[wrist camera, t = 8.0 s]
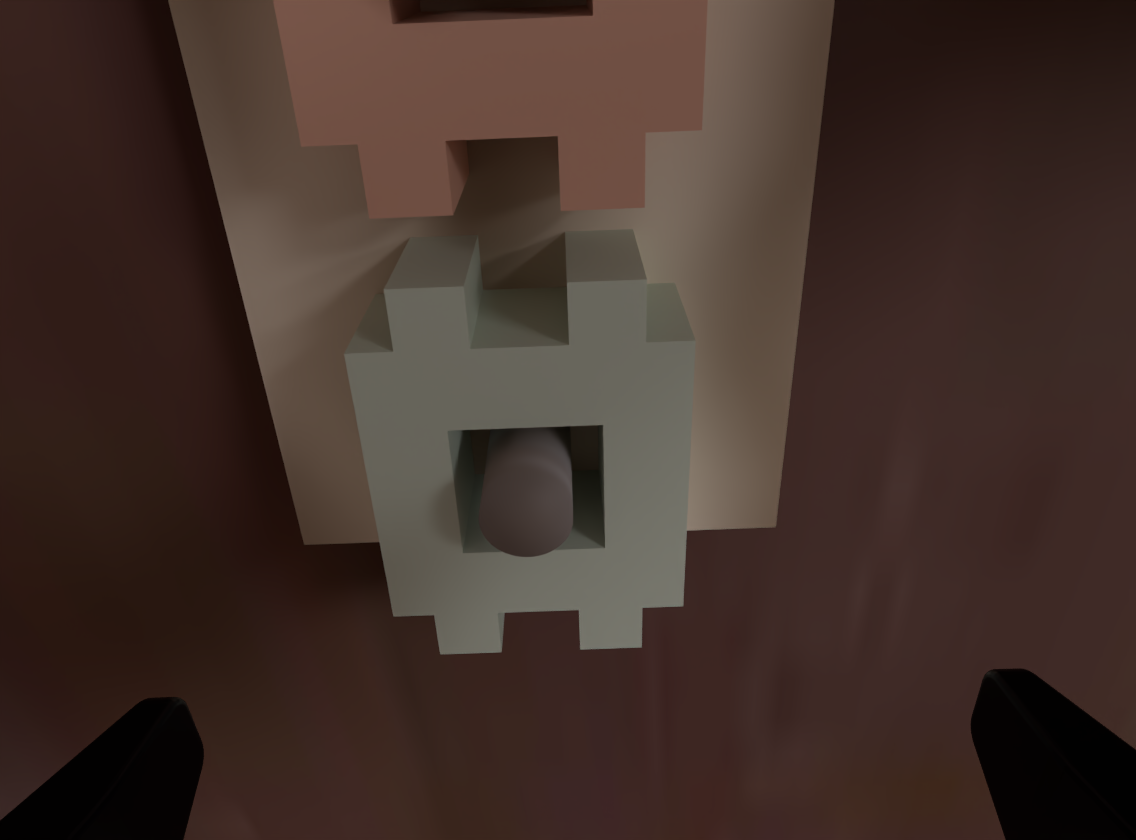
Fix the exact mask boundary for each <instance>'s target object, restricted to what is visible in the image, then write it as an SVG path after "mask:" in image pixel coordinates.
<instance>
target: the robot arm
mask: <svg viewBox="0 0 1136 840" xmlns="http://www.w3.org/2000/svg"><path fill="white" fill-rule="evenodd" d="M971 734H972V739H973V742H974V746H975V749H976V752H977V755H978V758H979V761H980V764H981V767H982V770H983V773H984V776H985V779H986V782H987V785H988V788H989V791H990V794H991V797H992V800H993V803H994V806H995V809H996V812H997V815H998V818H999V821H1000V824H1001V827H1002V830H1003V833H1004V836H1005V839H1006V840H1136V750H1135V749H1134V748H1133V747H1131V746H1130V745H1129V744H1127V743H1126V742H1125V741H1123V740H1122V739H1121V738H1119V737H1118V736H1117V735H1115V734H1114V733H1113V732H1111V731H1110V730H1109V729H1107V728H1106V727H1105V726H1103V725H1102V724H1101V723H1099V722H1098V721H1097V720H1095V719H1094V718H1093V717H1091V716H1090V715H1089V714H1087V713H1086V712H1085V711H1083V710H1082V709H1081V708H1079V707H1078V706H1077V705H1075V704H1074V703H1073V702H1071V701H1070V700H1069V699H1067V698H1066V697H1065V696H1063V695H1062V694H1061V693H1059V692H1058V691H1057V690H1055V689H1054V688H1053V687H1051V686H1050V685H1049V684H1047V683H1046V682H1045V681H1043V680H1042V679H1041V678H1039V677H1038V676H1037V675H1035V674H1034V673H1032V672H1030V671H1028V670H1025V669H993V670H990V671H988V672H987V673H986V674H985V676H984V678H983V680H982V684H981V687H980V690H979V694H978V697H977V700H976V704H975V707H974V710H973V714H972V718H971ZM203 759H204V749H203V744H202V740H201V738H200V736H199V733H198V731H197V728H196V726H195V723H194V721H193V718H192V716H191V713H190V711H189V708H188V706H187V704H186V702H185V701H184V700H182V699H181V698H178V697H160V698H148V699H145V700H143V701H141V702H139V703H138V704H136V705H135V706H134V707H133V708H132V709H130V710H129V711H128V712H127V713H126V714H125V715H123V716H122V717H121V718H120V719H119V720H118V721H116V722H115V723H114V724H113V725H112V726H111V727H109V728H108V729H107V730H106V731H105V732H103V733H102V734H101V735H100V736H99V737H98V738H96V739H95V740H94V741H93V742H92V743H91V744H89V745H88V746H87V747H86V748H85V749H84V750H82V751H81V752H80V753H79V754H78V755H77V756H75V757H74V758H73V759H72V760H71V761H69V762H68V763H67V764H66V765H65V766H64V767H62V768H61V769H60V770H59V771H58V772H57V773H55V774H54V775H53V776H52V777H51V778H50V779H48V780H47V781H46V782H45V783H44V784H42V785H41V786H40V787H39V788H38V789H37V790H35V791H34V792H33V793H32V794H31V795H30V796H28V797H27V798H26V799H25V800H24V801H23V802H21V803H20V804H19V805H18V806H17V807H16V808H14V809H13V810H12V811H11V812H10V813H8V814H7V815H6V816H5V817H4V818H3V819H1V820H0V840H183V839H184V835H185V832H186V828H187V824H188V820H189V816H190V812H191V808H192V805H193V801H194V797H195V793H196V789H197V785H198V781H199V778H200V774H201V770H202V766H203Z"/></svg>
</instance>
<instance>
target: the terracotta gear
mask: <svg viewBox="0 0 1136 840" xmlns="http://www.w3.org/2000/svg"><path fill="white" fill-rule="evenodd" d="M273 3H274V8H275V13H276V18H277V24H278V29H279V34H280V39H281V44H282V49H283V55H284V60H285V65H286V70H287V75H288V81H289V86H290V91H291V96H292V101H293V106H294V112H295V117H296V122H297V127H298V132H299V138H300V143H301V147H306V146H330V145H355V144H357V145H358V151H359V157H360V163H361V170H362V176H363V182H364V188H365V195H366V201H367V207H368V214H369V219H376V218H401V217H426V216H450V215H453V214H454V212H455V209H456V207H457V204H458V201H459V199H460V196H461V194H462V191H463V189H464V186H465V184H466V181H467V178H468V176H469V163H468V152H467V142H466V140H477V139H501V138H526V137H550V136H558V155H559V179H560V203H561V211H574V210H599V209H624V208H645V136H646V133H648V132H672V131H697V130H702V120H703V97H704V73H705V50H706V27H707V4H708V0H586V5H571V6H548V7H524V8H500V9H476V10H452V11H428V12H421V8H420V0H273Z"/></svg>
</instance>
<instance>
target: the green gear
mask: <svg viewBox="0 0 1136 840" xmlns="http://www.w3.org/2000/svg"><path fill="white" fill-rule="evenodd" d="M565 245H566V274H567V287H547V288H520V289H494V290H483V285H482V274H481V263H480V252H479V241H478V235H462V236H435V237H410V239H409V241H408V243H407V245H406V247H405V249H404V251H403V253H402V254H401V256H400V258H399V260H398V262H397V264H396V266H395V268H394V270H393V272H392V274H391V276H390V278H389V280H388V282H387V284H386V286H385V288H384V294H375V296H374V298H373V300H372V302H371V303H370V305H369V307H368V309H367V311H366V313H365V315H364V317H363V319H362V321H361V322H360V324H359V326H358V328H357V330H356V332H355V334H354V336H353V338H352V339H351V341H350V343H349V345H348V347H347V349H346V351H345V353H344V357H345V362H346V367H347V372H348V378H349V383H350V388H351V394H352V399H353V404H354V410H355V415H356V420H357V425H358V431H359V436H360V441H361V447H362V452H363V457H364V463H365V468H366V473H367V479H368V484H369V489H370V494H371V500H372V505H373V510H374V516H375V521H376V526H377V532H378V537H379V542H380V547H381V553H382V558H383V563H384V569H385V574H386V579H387V585H388V590H389V595H390V601H391V606H392V611H393V616H421V615H434V617H435V624H436V630H437V637H438V643H439V649H440V654H465V653H493V652H502V639H503V627H504V614H505V613H506V612H534V611H563V610H579V626H580V649H608V648H636V647H642V608H648V607H676V606H683V598H684V577H685V556H686V535H687V513H688V492H689V471H690V450H691V429H692V408H693V387H694V366H695V345H696V340H695V337H694V335H693V332H692V329H691V326H690V324H689V321H688V318H687V315H686V312H685V310H684V307H683V304H682V301H681V299H680V296H679V293H678V290H677V288H676V285H675V283H654V284H647V278H646V274H645V270H644V267H643V263H642V260H641V256H640V253H639V249H638V246H637V242H636V238H635V235H634V231H633V229H621V230H594V231H568V232H565ZM589 425H598V465H599V470H579V471H572V495H573V526H572V530H571V532H570V534H569V536H568V538H567V539H566V540H565V541H564V542H563V543H562V544H561V545H560V546H559V547H558V548H556V549H555V550H553V551H551V552H549V553H547V554H543V555H540V556H535V557H519V556H513V555H510V554H507V553H504V552H502V551H500V550H498V549H497V548H495V547H494V546H493V545H491V544H490V543H489V542H488V541H487V539H486V538H485V537H484V535H483V533H482V532H481V529H480V526H479V510H480V503H481V495H482V488H483V481H484V474H475V470H474V461H473V452H472V443H471V434H470V430H479V429H507V428H534V427H562V426H589Z"/></svg>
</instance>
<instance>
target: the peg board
mask: <svg viewBox="0 0 1136 840" xmlns="http://www.w3.org/2000/svg"><path fill="white" fill-rule="evenodd" d="M168 2H169V6H170V10H171V14H172V18H173V22H174V26H175V30H176V34H177V38H178V42H179V46H180V50H181V54H182V58H183V62H184V66H185V70H186V74H187V78H188V82H189V86H190V90H191V94H192V98H193V102H194V106H195V110H196V114H197V118H198V122H199V126H200V130H201V134H202V138H203V142H204V146H205V150H206V154H207V158H208V162H209V166H210V170H211V174H212V178H213V182H214V186H215V190H216V194H217V198H218V202H219V206H220V210H221V214H222V218H223V222H224V226H225V230H226V234H227V238H228V242H229V246H230V250H231V254H232V258H233V262H234V266H235V270H236V274H237V278H238V282H239V286H240V290H241V294H242V298H243V302H244V306H245V310H246V314H247V318H248V322H249V326H250V330H251V334H252V338H253V342H254V346H255V350H256V354H257V358H258V362H259V366H260V370H261V374H262V378H263V382H264V386H265V390H266V394H267V398H268V402H269V406H270V410H271V414H272V418H273V422H274V426H275V430H276V434H277V438H278V442H279V446H280V450H281V454H282V458H283V462H284V466H285V470H286V474H287V478H288V482H289V486H290V490H291V494H292V498H293V502H294V506H295V510H296V514H297V518H298V522H299V526H300V530H301V534H302V538H303V542H304V545H315V544H341V543H368V542H379V537H378V532H377V526H376V521H375V516H374V510H373V505H372V500H371V494H370V489H369V484H368V479H367V473H366V468H365V463H364V457H363V452H362V447H361V441H360V436H359V431H358V425H357V420H356V415H355V410H354V404H353V399H352V394H351V388H350V383H349V378H348V372H347V367H346V362H345V357H344V353H345V351H346V349H347V347H348V345H349V343H350V341H351V339H352V338H353V336H354V334H355V332H356V330H357V328H358V326H359V324H360V322H361V321H362V319H363V317H364V315H365V313H366V311H367V309H368V307H369V305H370V303H371V302H372V300H373V298H374V296H375V294H384V288H385V286H386V284H387V282H388V280H389V278H390V276H391V274H392V272H393V270H394V268H395V266H396V264H397V262H398V260H399V258H400V256H401V254H402V253H403V251H404V249H405V247H406V245H407V243H408V241H409V239H410V237H435V236H462V235H478V241H479V252H480V263H481V274H482V285H483V290H494V289H520V288H547V287H567V274H566V245H565V232H568V231H594V230H621V229H633V231H634V235H635V238H636V242H637V246H638V249H639V253H640V256H641V260H642V263H643V267H644V270H645V274H646V278H647V284H654V283H675V285H676V288H677V290H678V293H679V296H680V299H681V301H682V304H683V307H684V310H685V312H686V315H687V318H688V321H689V324H690V326H691V329H692V332H693V335H694V337H695V340H696V345H695V366H694V387H693V408H692V429H691V450H690V471H689V492H688V513H687V530H713V529H740V528H766V527H776V520H777V511H778V502H779V493H780V484H781V475H782V466H783V457H784V449H785V440H786V431H787V422H788V413H789V404H790V395H791V386H792V377H793V368H794V359H795V350H796V342H797V333H798V324H799V315H800V306H801V297H802V288H803V279H804V270H805V261H806V252H807V244H808V235H809V226H810V217H811V208H812V199H813V190H814V181H815V172H816V163H817V154H818V145H819V137H820V128H821V119H822V110H823V101H824V92H825V83H826V74H827V65H828V56H829V47H830V39H831V30H832V21H833V12H834V3H835V0H708V4H707V27H706V50H705V73H704V97H703V120H702V130H697V131H672V132H648V133H646V136H645V208H624V209H599V210H574V211H561V203H560V179H559V155H558V136H550V137H526V138H501V139H477V140H466V142H467V152H468V163H469V176H468V178H467V181H466V184H465V186H464V189H463V191H462V194H461V196H460V199H459V201H458V204H457V207H456V209H455V212H454V214H453V215H450V216H426V217H401V218H376V219H369V214H368V207H367V201H366V195H365V188H364V182H363V176H362V170H361V163H360V157H359V151H358V145H357V144H355V145H330V146H306V147H301V143H300V138H299V132H298V127H297V122H296V117H295V112H294V106H293V101H292V96H291V91H290V86H289V81H288V75H287V70H286V65H285V60H284V55H283V49H282V44H281V39H280V34H279V29H278V24H277V18H276V13H275V8H274V3H273V0H168ZM571 5H586V0H420V8H421V12H428V11H452V10H476V9H500V8H524V7H548V6H571ZM470 434H471V443H472V452H473V461H474V470H475V474H484V481H483V488H482V495H481V503H480V510H479V526H480V529H481V532H482V533H483V535H484V537H485V538H486V539H487V541H488V542H489V543H490V544H491V545H493V546H494V547H495V548H497V549H498V550H500V551H502V552H504V553H507V554H510V555H513V556H519V557H535V556H540V555H543V554H547V553H549V552H551V551H553V550H555V549H556V548H558V547H559V546H560V545H561V544H562V543H563V542H564V541H565V540H566V539H567V538H568V536H569V534H570V532H571V530H572V526H573V495H572V471H579V470H599V465H598V425H589V426H562V427H534V428H507V429H479V430H470Z"/></svg>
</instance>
